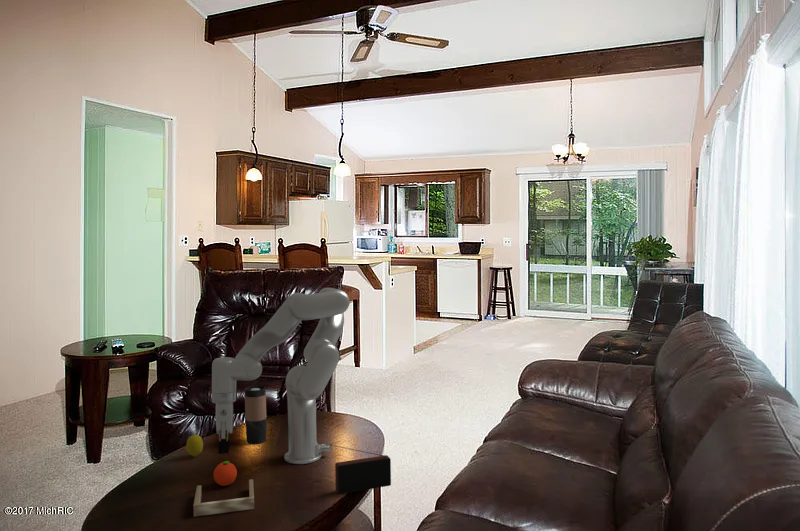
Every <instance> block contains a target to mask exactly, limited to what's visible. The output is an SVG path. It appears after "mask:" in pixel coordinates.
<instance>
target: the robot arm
mask: <svg viewBox="0 0 800 531" xmlns="http://www.w3.org/2000/svg"><path fill="white" fill-rule="evenodd" d="M350 303H351V302H350V297H349V295H348V294H347V293H346V292H345V291H344V290H341V289H338V288H334V287H323V288H322V289H320V290H319V292H317V293H308V294H307V293H306V294H305V293H302V292H294V293H292V294H290V295H289V296H288V297H287V298H286V299H285V301H283V303H282V304H281V306H279V308H278V309H277V311H276V312H275V313H274V314H273V315H272V316H271V318H270V319H269V320H268V321H267V322H266V324H265V325H264V326H263V327H261V328H260V329H259V330H258V331H257V332H255V334H254V335H253V336H251V337H250V338H249V340H248V341H247V342H246V343H245V344H244V346H243V347H242V348H241V349H240V350H239V352H238V353H237V354H236V356H235V357H229V356H222V357H217V358H214V360H212V363H211V402H212V403H213V404H215V426H216V428H215V430H216V434H217V435H218V448H217V449H218V450H217V451H218V452H217V453H218V454H219V455H222V454H229V451H230V439H229V434H232V433H233V431H234V403H235V402H236V401H237V381H247V382H248V381H249V382H250V381H254V380H257V379H258V378H259V377H260V376H261V375H262V374H263V373H262V372H263V365H262V363H261V362H260V361H261V359H262V358H263V357H264V355H265V354H266V353H267V352H268V351H269V350H271V349H272V348H274V347H276V346H279V345H281V344H283V343H284V342H286V341H287V339H288V338H290V336H291V334H293V332H294V331H295V330H296V328H297V327H298V326H299V324H300V323H301V322H302V321H310V320H311V321H312V320H317V319H319V321H318V324H317V326H316V328H315V330H314V331H313V333H312V335H311V337H310V339H309V340H308V342H307V344H306V346H305V347H304V348H303V349H304V350H303V357H304V360H305V361H306V362H307V363H306V365H296V366H293V367H292V368H291V369H290V370H288V373H287V374H286V377H285V390H286V391H285V392H286V399H287V423H288V424H287V425H288V433H287V434H288V435H287V436H288V451H287V452H285V453H284V454H283V455H284V456H283V458H284V461H285V462H287V463H289V464H294V465H304V464H305V465H306V464H312V463H315V462H317V461H319V460H320V459H321V457H322V452H330V451H331V450H332V449H331V446H330V444H326V443H322V444H320V443H318V441H317V439H318V437H317V402H316V399H317V398H319V396H321V395H322V393H323V392H324V390H325V388H326V387H327V385H328V383H329V381H330V379H331V377H332V376H333V374H334V372H335V370H336V368H337V366H338V364H339V361H340V352H339V349H338V347H337V346H336V344H337V342H338V340H339V338H340V336H341V333H342V331H343V329H344V324H345V314H344V313H345V312H347V310H348V308H349V306H350Z"/></svg>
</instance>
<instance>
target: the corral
mask: <svg viewBox="0 0 800 531" xmlns="http://www.w3.org/2000/svg"><path fill="white" fill-rule="evenodd" d="M195 490H196V491H195V495H194V500H193V505H192V506H193V517H201V516H202V517H203V516H209V515H216V514H217V515H219V514H224V513H233V512H239V511H240V512H241V511H247V510H255V492H254V491H255V490H254V479H253V478H252V479H248V490H249V491H248V492H249V494H248V495H249V496H246V497H239V498H231V499H221V500H214V501H207V502H202V495H203V493H202V485H201V484H200V485H196V489H195Z"/></svg>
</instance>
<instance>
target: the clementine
mask: <svg viewBox="0 0 800 531" xmlns="http://www.w3.org/2000/svg"><path fill="white" fill-rule="evenodd" d="M237 476H238V471H237V468H236V466H235V465H234V463H231V461H230V460H225V461H223V462H220V463H219V464H217V465H216V467H215V469H214V471H213V480H214V482H215V483H216V484H217V485H219V486H222V487H227V486H230V485H232V484H233V483H234V482H235V481H236V479H237Z"/></svg>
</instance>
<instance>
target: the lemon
mask: <svg viewBox="0 0 800 531" xmlns="http://www.w3.org/2000/svg"><path fill="white" fill-rule="evenodd" d="M185 444H186V445H185V448H186V452H187V453H188V455H191V456H192V457H194V458H196V457H197V456H198V455H200V454H201V453H202V451H203V449H204V442H203V439H202V437H201V436H200V435H198V434H196V433H193V434H192V435H190V436H189V437H188V439H187V440H186V443H185Z"/></svg>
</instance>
